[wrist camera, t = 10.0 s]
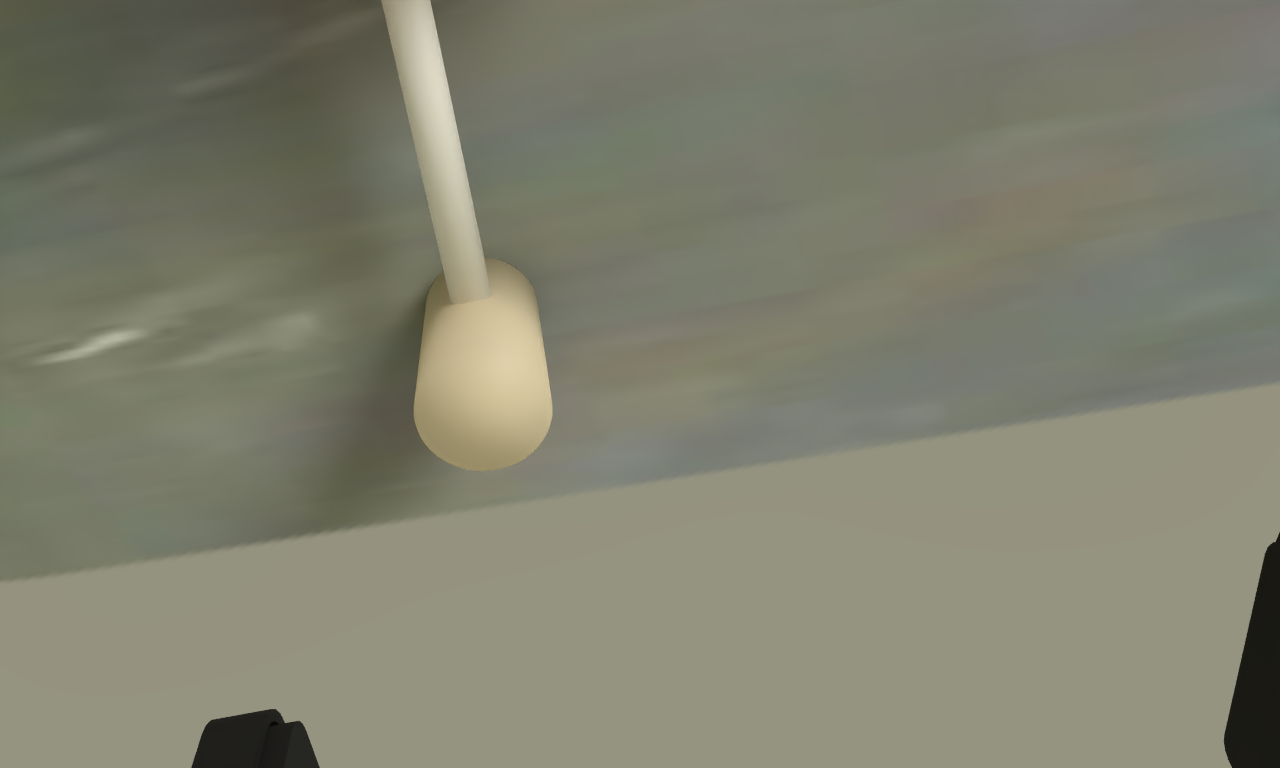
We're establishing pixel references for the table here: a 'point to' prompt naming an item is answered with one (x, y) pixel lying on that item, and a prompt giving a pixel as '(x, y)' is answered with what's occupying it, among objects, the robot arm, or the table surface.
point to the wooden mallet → (466, 287)
